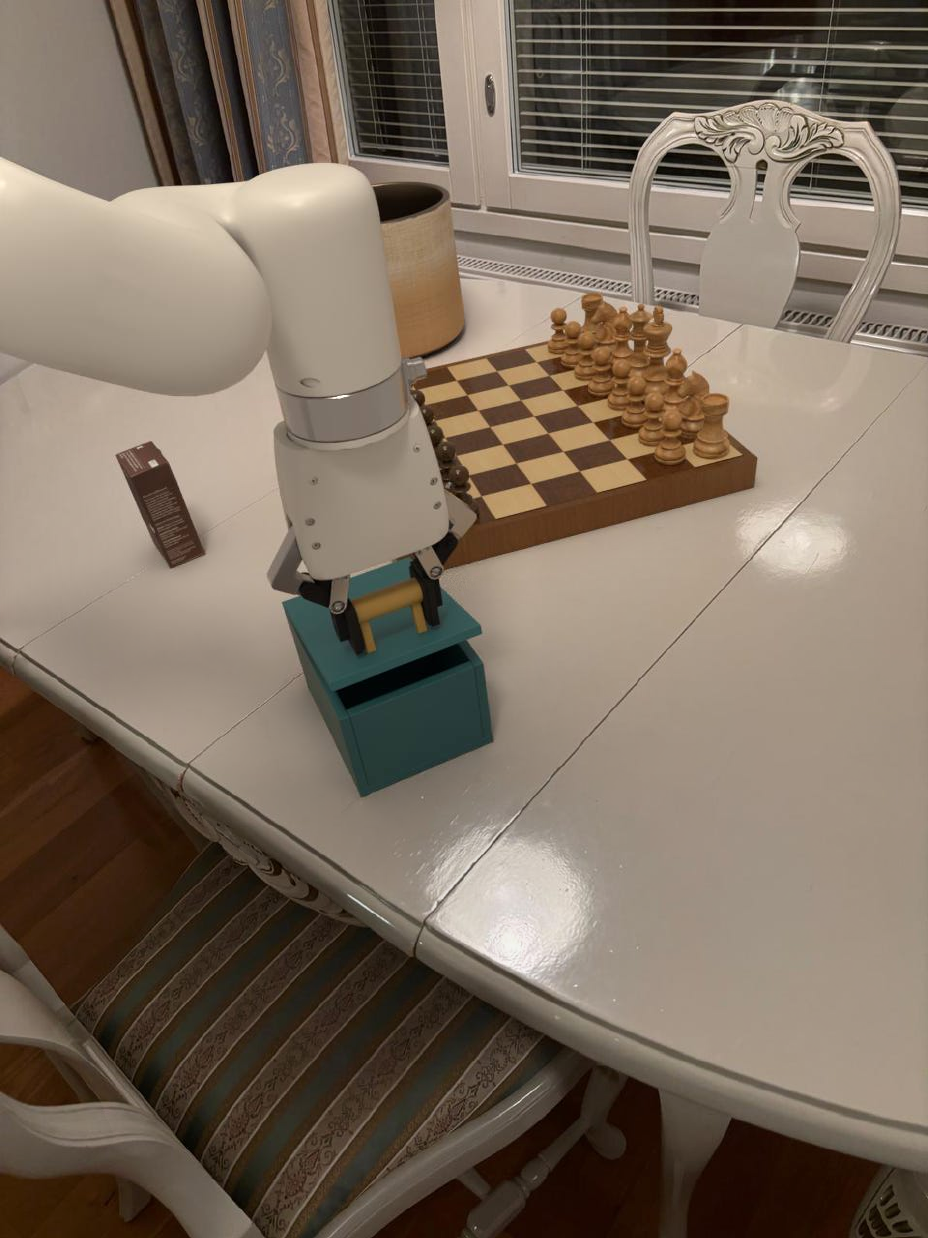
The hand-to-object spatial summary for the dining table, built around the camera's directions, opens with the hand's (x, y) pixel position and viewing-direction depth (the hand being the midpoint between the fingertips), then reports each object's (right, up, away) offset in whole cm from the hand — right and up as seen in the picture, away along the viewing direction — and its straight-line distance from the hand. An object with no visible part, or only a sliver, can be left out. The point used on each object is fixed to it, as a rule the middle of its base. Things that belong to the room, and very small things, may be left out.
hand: (391, 626), depth 64 cm
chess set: (+12, +21, +44) cm, 51 cm away
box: (-27, +8, +35) cm, 45 cm away
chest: (-1, -7, +12) cm, 14 cm away
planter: (-5, +44, +75) cm, 87 cm away
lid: (-2, 0, +5) cm, 5 cm away
